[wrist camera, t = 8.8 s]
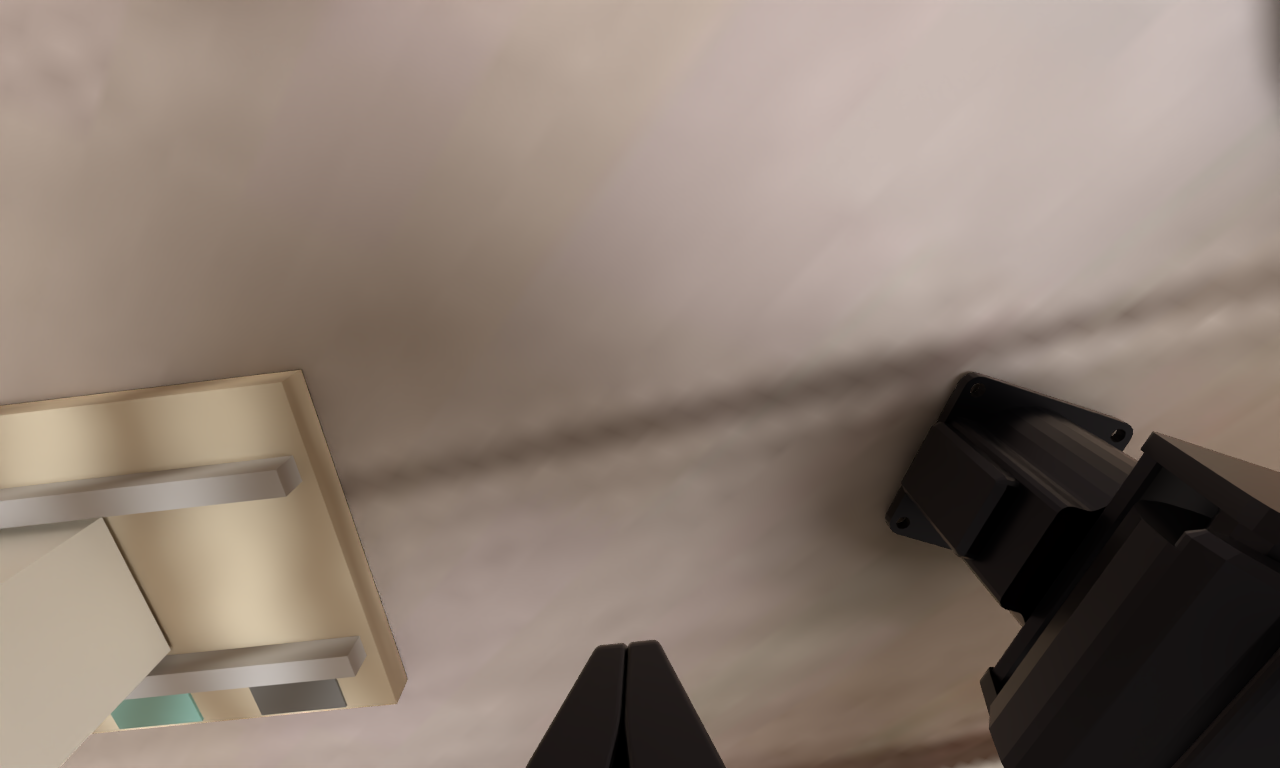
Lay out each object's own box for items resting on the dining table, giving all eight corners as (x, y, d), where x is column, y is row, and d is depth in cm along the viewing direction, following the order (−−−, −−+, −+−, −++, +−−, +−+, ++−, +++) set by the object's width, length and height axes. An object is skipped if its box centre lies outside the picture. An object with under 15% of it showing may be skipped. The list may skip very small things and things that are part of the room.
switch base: (301, 369, 20) (242, 406, 17) (407, 679, 25) (376, 749, 22) (-62, 412, 21) (-180, 456, 18) (112, 708, 26) (43, 781, 23)
